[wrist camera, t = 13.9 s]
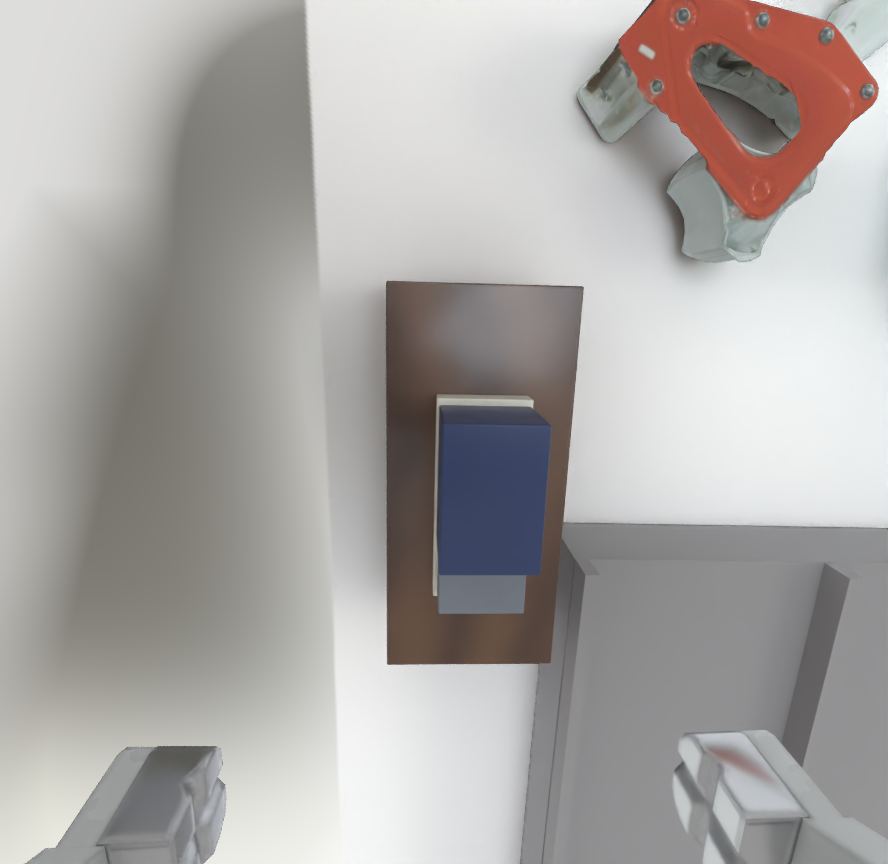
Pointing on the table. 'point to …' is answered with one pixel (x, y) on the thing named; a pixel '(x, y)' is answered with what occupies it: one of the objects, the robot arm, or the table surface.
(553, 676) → the desk organizer
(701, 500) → the table surface
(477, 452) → the navy lidded box
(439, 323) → the brown wooden block
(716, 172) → the tape dispenser
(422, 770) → the table surface
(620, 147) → the table surface
